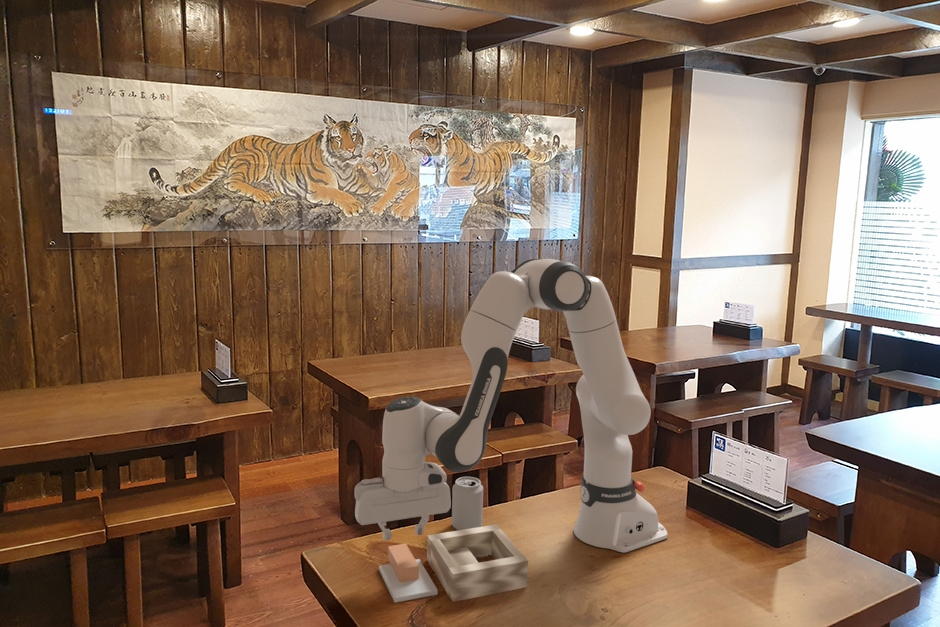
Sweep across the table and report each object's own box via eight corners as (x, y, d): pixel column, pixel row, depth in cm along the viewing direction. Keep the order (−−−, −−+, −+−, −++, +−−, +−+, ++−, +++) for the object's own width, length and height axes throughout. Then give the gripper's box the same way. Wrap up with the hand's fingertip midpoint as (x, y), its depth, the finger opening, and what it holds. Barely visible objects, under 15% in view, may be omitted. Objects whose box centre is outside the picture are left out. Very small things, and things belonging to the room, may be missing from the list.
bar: (418, 579, 149) (418, 565, 148) (400, 582, 147) (400, 569, 147) (405, 555, 158) (405, 543, 157) (388, 559, 156) (388, 546, 156)
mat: (419, 563, 157) (419, 558, 157) (437, 594, 145) (437, 589, 145) (379, 570, 154) (379, 565, 154) (394, 602, 142) (394, 598, 142)
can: (479, 536, 170) (480, 488, 168) (448, 532, 171) (449, 485, 169) (484, 522, 177) (486, 476, 175) (455, 518, 178) (456, 473, 176)
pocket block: (495, 548, 164) (496, 524, 163) (527, 587, 148) (528, 560, 147) (427, 560, 158) (427, 535, 157) (452, 601, 142) (453, 574, 141)
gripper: (357, 487, 142) (358, 551, 145) (453, 474, 149) (453, 535, 152) (351, 475, 148) (351, 537, 150) (444, 463, 155) (443, 522, 158)
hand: (403, 536), depth 151 cm, fingers open, 6 cm apart
